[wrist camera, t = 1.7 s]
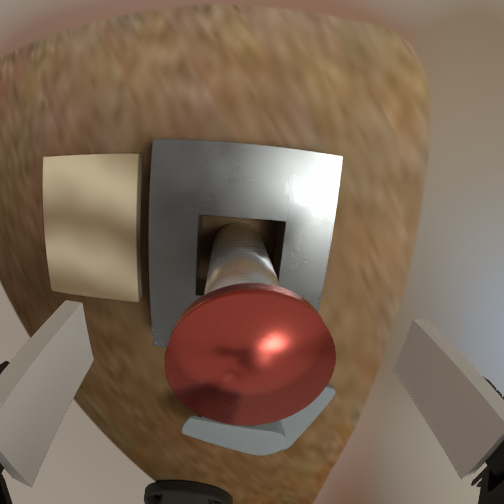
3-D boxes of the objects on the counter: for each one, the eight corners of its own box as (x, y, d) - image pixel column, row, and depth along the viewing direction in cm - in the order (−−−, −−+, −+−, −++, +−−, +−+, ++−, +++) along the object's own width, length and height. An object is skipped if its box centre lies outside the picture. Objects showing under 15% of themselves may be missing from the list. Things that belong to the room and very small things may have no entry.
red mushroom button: (270, 284, 25) (315, 423, 11) (198, 279, 25) (170, 420, 10) (279, 213, 23) (353, 299, 9) (202, 207, 23) (160, 289, 8)
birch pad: (142, 296, 25) (138, 302, 23) (57, 285, 24) (51, 290, 23) (143, 153, 21) (138, 153, 20) (50, 156, 20) (43, 157, 19)
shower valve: (205, 386, 22) (351, 418, 25) (208, 347, 27) (336, 384, 30) (167, 455, 25) (290, 478, 28) (173, 420, 30) (284, 446, 33)
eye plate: (301, 334, 27) (308, 353, 24) (160, 327, 26) (153, 345, 23) (329, 156, 22) (342, 156, 19) (162, 141, 21) (152, 139, 18)
